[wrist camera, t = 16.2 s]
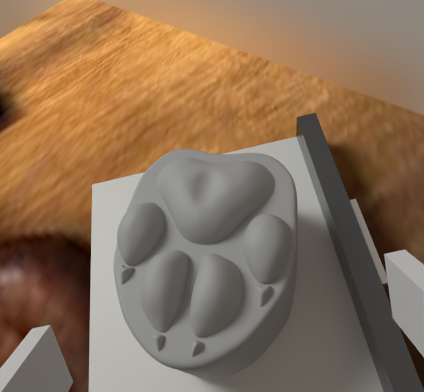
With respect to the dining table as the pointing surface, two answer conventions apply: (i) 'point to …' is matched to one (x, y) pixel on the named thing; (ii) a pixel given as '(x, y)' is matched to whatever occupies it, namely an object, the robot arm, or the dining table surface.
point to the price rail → (358, 262)
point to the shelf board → (282, 345)
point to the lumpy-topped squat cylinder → (208, 259)
